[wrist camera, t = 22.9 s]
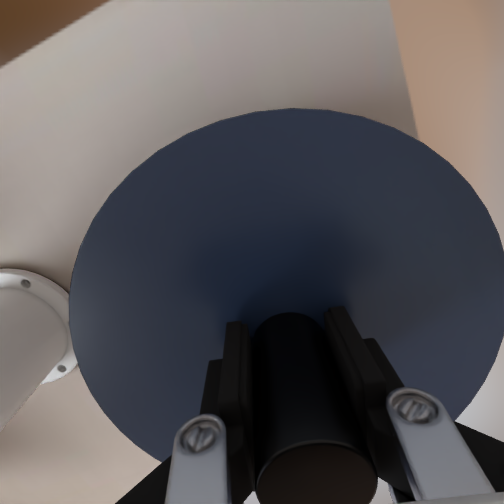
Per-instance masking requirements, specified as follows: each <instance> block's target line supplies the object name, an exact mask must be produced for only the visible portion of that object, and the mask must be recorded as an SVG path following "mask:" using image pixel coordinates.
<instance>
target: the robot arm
mask: <svg viewBox="0 0 504 504" xmlns="http://www.w3.org/2000/svg"><path fill="white" fill-rule="evenodd" d="M324 324H325V335H326V340H327V342H328V345H329V348H330V350H331V353H332V355H333V358H334V361H335V363H336V366H337V368H338V371H339V374H340V376H341V379H342V381H343V384H344V387H345V389H346V392H347V394H348V397H349V400H350V402H351V405H352V407H353V410H354V413H355V415H356V418H357V420H358V423H359V426H360V428H361V431H362V433H363V436H364V439H365V441H366V444H367V447H368V449H369V452H370V454H371V457H372V460H373V462H374V465H375V467H376V470H377V475H378V477H379V478H381V479H382V480H384V481H385V482H387V483H388V486H389V491H390V495H391V498H392V501H393V504H504V442H501V441H499V440H496V439H495V438H492V437H490V436H488V435H485V434H483V433H481V432H478V431H476V430H474V429H471V428H469V427H467V426H464V425H462V424H460V423H457V422H455V421H453V420H452V419H451V417H450V416H449V414H448V413H447V411H446V409H445V408H444V406H443V404H442V403H441V402H440V401H439V400H438V398H436V397H435V396H434V395H432V394H431V393H429V392H427V391H425V390H422V389H419V388H414V387H405V386H404V384H403V383H402V381H401V379H400V378H399V376H398V375H397V373H396V371H395V370H394V368H393V367H392V365H391V363H390V362H389V360H388V359H387V357H386V355H385V354H384V352H383V351H382V349H381V347H380V346H379V344H378V343H377V341H376V340H375V338H367V339H362V337H361V335H360V333H359V332H358V330H357V328H356V326H355V325H354V323H353V321H352V319H351V317H350V316H349V314H348V312H347V310H346V308H345V307H344V306H338V307H331V308H329V309H328V312H324ZM77 364H78V363H77V359H76V356H75V353H74V350H73V345H72V339H71V334H70V328H69V294H68V293H67V292H66V291H65V290H64V289H62V288H61V287H60V286H59V285H57V284H56V283H54V282H52V281H51V280H49V279H47V278H45V277H43V276H41V275H38V274H36V273H33V272H29V271H25V270H20V269H10V268H9V269H0V432H1V430H2V429H3V428H4V427H5V426H6V424H7V423H8V422H9V421H10V420H11V418H12V417H13V416H14V415H15V414H16V412H17V411H18V410H19V409H20V408H21V406H22V405H23V404H24V403H25V402H26V401H27V399H28V398H29V397H30V396H31V395H32V393H33V392H34V391H35V390H36V389H37V387H38V386H39V385H40V384H44V383H48V382H53V381H55V380H57V379H60V378H62V377H64V376H65V375H66V374H68V373H69V372H71V371H72V369H73V368H74V367H75V366H76V365H77ZM252 491H255V469H254V408H253V357H252V345H251V340H250V334H249V329H248V324H242V321H241V320H240V321H234V322H227V324H226V333H225V342H224V350H223V359H216V360H210V361H209V363H208V368H207V374H206V379H205V385H204V391H203V396H202V402H201V408H200V414H199V415H196V416H193V417H192V418H190V419H188V420H187V421H186V422H185V423H184V424H182V425H181V427H180V428H179V430H178V431H177V433H176V436H175V439H174V445H173V452H172V455H170V456H169V457H168V458H167V459H166V460H165V461H164V462H162V463H161V464H160V465H159V466H158V467H157V468H155V469H154V470H153V471H152V472H151V473H150V474H149V475H147V476H146V477H145V478H144V479H143V480H142V481H141V482H139V483H138V484H137V485H136V486H135V487H134V488H133V489H131V490H130V491H129V492H128V493H127V494H126V495H124V496H123V497H122V498H121V499H120V500H119V501H118V502H116V503H115V504H244V501H245V500H246V499H247V497H248V496H249V495H250V494H251V492H252Z"/></svg>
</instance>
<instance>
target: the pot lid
mask: <svg viewBox="0 0 504 504" xmlns="http://www.w3.org/2000/svg"><path fill="white" fill-rule="evenodd" d="M338 306H344V307H345V308H346V310H347V312H348V314H349V316H350V317H351V319H352V321H353V323H354V325H355V326H356V328H357V330H358V332H359V333H360V335H361V337H362V339H367V338H375V340H376V341H377V343H378V344H379V346H380V347H381V349H382V351H383V352H384V354H385V355H386V357H387V359H388V360H389V362H390V363H391V365H392V367H393V368H394V370H395V371H396V373H397V375H398V376H399V378H400V379H401V381H402V383H403V384H404V386H405V387H414V388H419V389H422V390H425V391H427V392H429V393H431V394H432V395H434V396H435V397H436V398H438V400H439V401H440V402H441V403H442V404H443V406H444V408H445V409H446V411H447V413H448V414H449V416H450V417H451V419H452V420H453V421H455V420H456V419H457V418H458V417H459V415H460V414H461V413H462V412H463V411H464V410H465V408H466V407H467V406H468V405H469V404H470V403H471V401H472V400H473V398H474V397H475V395H476V394H477V392H478V391H479V389H480V388H481V386H482V385H483V383H484V382H485V380H486V378H487V376H488V374H489V372H490V370H491V368H492V366H493V364H494V362H495V359H496V357H497V354H498V351H499V348H500V345H501V342H502V339H503V336H504V251H503V247H502V244H501V240H500V237H499V233H498V231H497V229H496V227H495V225H494V223H493V221H492V219H491V216H490V214H489V212H488V210H487V208H486V207H485V205H484V204H483V202H482V201H481V199H480V198H479V197H478V195H477V194H476V192H475V191H474V189H473V188H472V187H471V185H470V184H469V183H468V182H467V181H466V180H465V178H464V177H463V176H462V175H461V174H460V173H459V172H458V171H457V170H456V169H455V168H454V167H453V166H452V165H451V164H450V163H449V162H448V161H446V160H445V159H444V158H442V157H441V156H440V155H438V154H437V153H436V152H435V151H433V150H432V149H431V148H429V147H428V146H427V145H425V144H424V143H422V142H420V141H418V140H417V139H415V138H413V137H411V136H409V135H407V134H405V133H403V132H402V131H400V130H398V129H396V128H394V127H391V126H388V125H385V124H382V123H380V122H377V121H374V120H371V119H368V118H365V117H362V116H358V115H352V114H347V113H342V112H337V111H331V110H322V109H300V108H288V109H278V110H268V111H257V112H252V113H248V114H244V115H240V116H236V117H232V118H228V119H224V120H220V121H217V122H215V123H213V124H210V125H208V126H205V127H203V128H200V129H198V130H195V131H193V132H190V133H188V134H186V135H184V136H182V137H181V138H179V139H177V140H176V141H174V142H172V143H170V144H169V145H167V146H165V147H163V148H162V149H160V150H158V151H157V152H156V153H154V154H153V155H152V156H151V157H149V158H148V159H147V160H146V161H144V162H143V163H142V164H141V165H139V166H138V167H137V168H135V169H134V170H133V171H132V172H131V173H130V174H129V175H128V176H127V177H126V178H125V179H124V180H123V181H122V182H121V184H120V185H119V186H118V187H117V188H116V189H115V190H114V191H113V192H112V193H111V194H110V196H109V197H108V198H107V200H106V201H105V203H104V204H103V206H102V207H101V209H100V210H99V212H98V213H97V214H96V216H95V217H94V219H93V221H92V223H91V225H90V227H89V229H88V231H87V233H86V235H85V237H84V239H83V241H82V243H81V245H80V249H79V252H78V255H77V259H76V262H75V265H74V268H73V272H72V278H71V286H70V293H69V328H70V334H71V339H72V345H73V350H74V353H75V356H76V359H77V363H78V366H79V369H80V372H81V374H82V376H83V378H84V380H85V382H86V384H87V386H88V388H89V390H90V392H91V394H92V396H93V397H94V399H95V400H96V401H97V403H98V404H99V406H100V407H101V409H102V410H103V412H104V413H105V414H106V416H107V417H108V418H109V419H110V420H111V421H112V422H113V424H114V425H115V426H116V427H117V428H118V429H119V430H120V431H121V432H122V433H123V434H124V435H125V436H126V437H128V438H129V439H130V440H131V441H132V442H133V443H134V444H135V445H137V446H138V447H139V448H141V449H142V450H144V451H145V452H146V453H148V454H149V455H151V456H152V457H154V458H155V459H157V460H159V461H160V462H164V461H165V460H166V459H167V458H168V457H169V456H170V455H172V452H173V445H174V439H175V436H176V433H177V431H178V430H179V428H180V427H181V425H182V424H184V423H185V422H186V421H187V420H188V419H190V418H192V417H193V416H196V415H199V414H200V408H201V402H202V396H203V391H204V385H205V379H206V374H207V368H208V363H209V361H210V360H216V359H223V350H224V342H225V333H226V324H227V322H234V321H240V320H241V321H242V324H248V329H249V334H250V340H251V345H252V357H253V408H254V469H255V492H256V495H257V498H258V500H259V502H260V504H369V503H370V502H371V501H372V499H373V497H374V495H375V493H376V489H377V484H378V475H377V470H376V467H375V465H374V462H373V460H372V457H371V454H370V452H369V449H368V447H367V444H366V441H365V439H364V436H363V433H362V431H361V428H360V426H359V423H358V420H357V418H356V415H355V413H354V410H353V407H352V405H351V402H350V400H349V397H348V394H347V392H346V389H345V387H344V384H343V381H342V379H341V376H340V374H339V371H338V368H337V366H336V363H335V361H334V358H333V355H332V353H331V350H330V348H329V345H328V342H327V340H326V335H325V324H324V312H328V309H329V308H331V307H338Z"/></svg>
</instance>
